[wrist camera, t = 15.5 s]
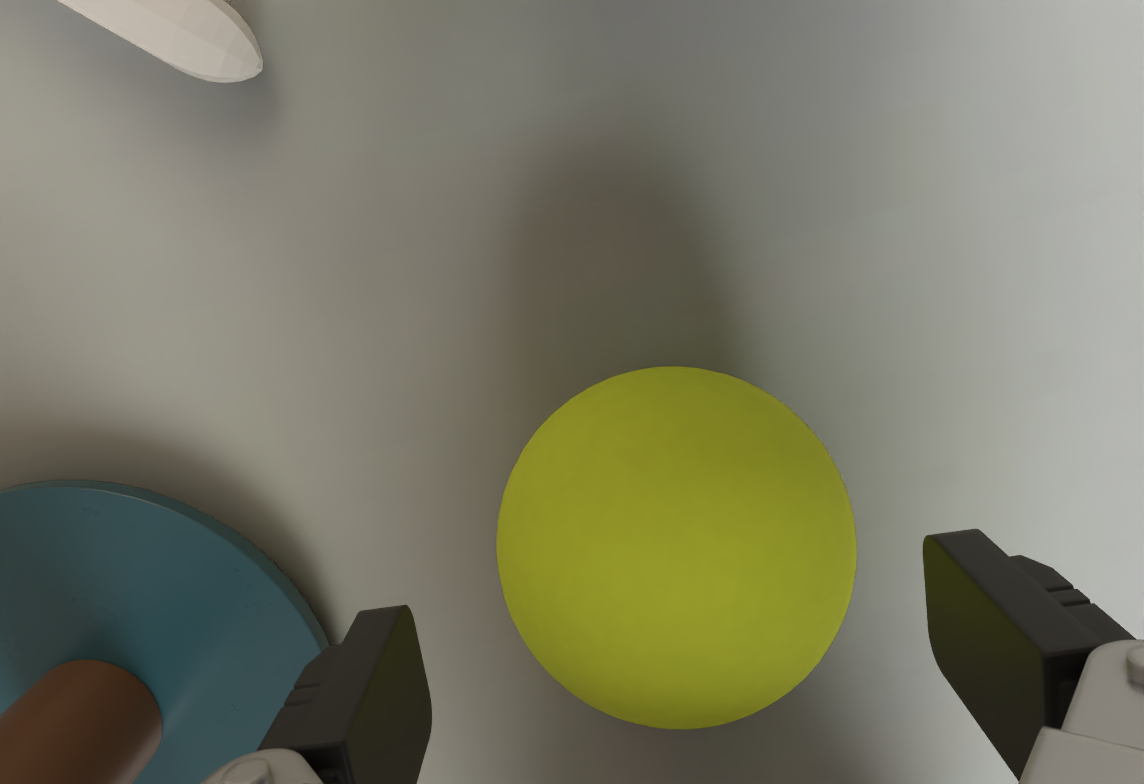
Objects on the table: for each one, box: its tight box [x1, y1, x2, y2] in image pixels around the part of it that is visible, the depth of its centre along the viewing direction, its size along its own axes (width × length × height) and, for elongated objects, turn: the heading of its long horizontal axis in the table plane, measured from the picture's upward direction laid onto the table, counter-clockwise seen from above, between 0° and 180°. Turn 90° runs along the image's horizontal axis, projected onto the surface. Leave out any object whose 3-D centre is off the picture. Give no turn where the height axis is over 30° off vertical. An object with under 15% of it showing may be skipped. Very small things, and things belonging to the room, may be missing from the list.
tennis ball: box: [496, 366, 857, 729], centre depth 16 cm, size 6×6×6 cm
